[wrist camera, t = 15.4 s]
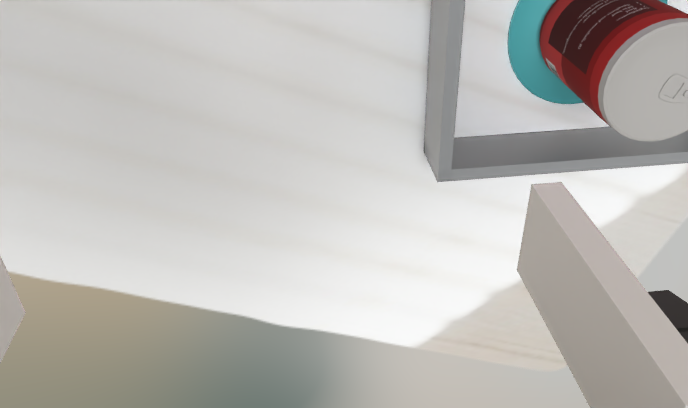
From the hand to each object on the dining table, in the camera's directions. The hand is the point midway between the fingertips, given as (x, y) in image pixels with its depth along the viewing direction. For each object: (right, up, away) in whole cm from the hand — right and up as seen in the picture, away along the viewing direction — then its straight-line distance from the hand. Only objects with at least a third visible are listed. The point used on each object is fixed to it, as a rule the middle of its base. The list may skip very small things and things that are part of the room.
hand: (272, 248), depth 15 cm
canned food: (+20, +14, +30) cm, 39 cm away
